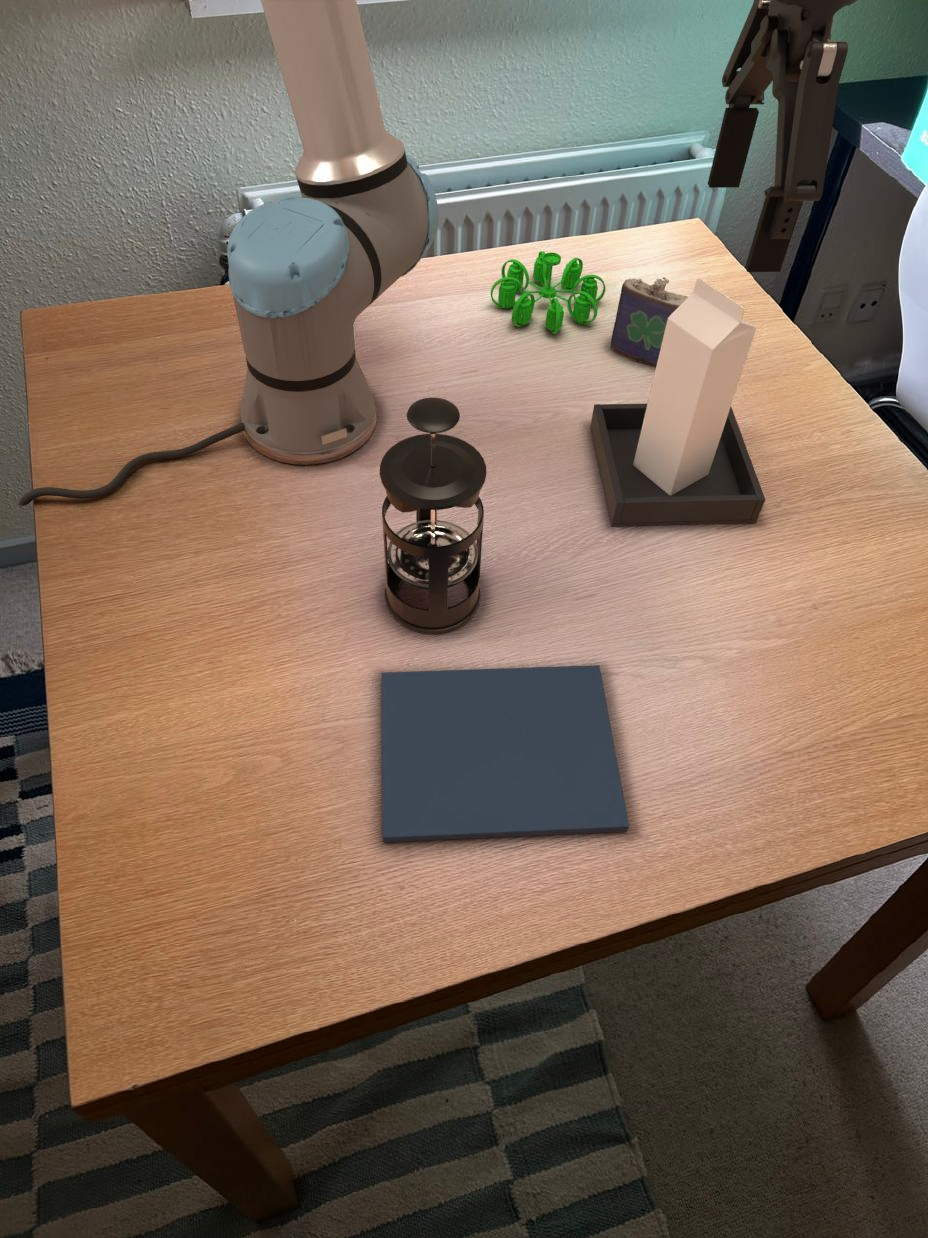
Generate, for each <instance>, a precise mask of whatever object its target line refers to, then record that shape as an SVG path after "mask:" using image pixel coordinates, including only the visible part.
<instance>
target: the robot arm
mask: <svg viewBox="0 0 928 1238" xmlns="http://www.w3.org/2000/svg"><path fill="white" fill-rule="evenodd" d="M857 1H858V0H753V2H752V5H751V8H750V10H749V12H748V15H747V16H746V19H745V21H744V24H743V27H742V29H741V31H740V33H739V36H738V38H737V40H736V43H735V46H734V47H733V50H732V53H731V55H730V57H729V60H728V62H727V65H726V67H725V69H724V72H723V75H722V77H721V85H722V87H723V88H727V90H726V91H725V94H724V101H725V105H728V106H727V107H725V109H724V113H723V117H722V121H721V125H720V129H719V134H718V138H717V142H716V146H715V151H714V155H713V159H712V164H711V168H710V171H709V177H708V180H707V185H708V188H709V189H712V188H713V189H716V188H719V189H723V188H724V189H725V188H728V189H729V188H740V185H741V181H742V178H743V174H744V170H745V166H746V163H747V159H748V156H749V151H750V147H751V144H752V140H753V136H754V132H755V128H756V126H757V125H756V124H757V121H758V118H759V114H760V111H759V109H758V107H750V106H751V105H765V102H764V101H765V92H766V90H767V89H768V87H769V86H770V85H771V84H772V85H771V86H772V89H771V93H772V94H771V95H772V96H773V98H775V99H776V100H777V103H778V105H777V122H776V124H777V125H776V143H775V146H776V147H775V163H774V165H775V166H774V167H775V168H774V185H772V186H769V187H768V188H766V189H764V191H763V192H764V197H765V198H764V200H763V205H762V208H761V210H760V211H761V212H760V215H759V218H758V221H757V224H756V229H755V232H754V235H753V237H752V238H753V239H752V242H751V246H750V248H749V252H748V255H747V258H746V263H745V266H744V268H745V270H746V272H747V273H780V272H781V270H782V267H783V264H784V261H785V258H786V255H787V252H788V249H789V247H790V244H791V243H790V242H791V239H792V237H793V233H794V231H795V228H796V225H797V221H798V218H799V216H800V212H801V210H802V206H803V204H804V202H819V201H820V200H821V199H822V196H823V193H824V187H825V186H824V185H825V179H826V172H827V167H828V158H829V151H830V146H831V140H832V132H833V125H834V119H835V114H836V113H835V112H836V105H837V99H838V93H839V86H840V80H841V77H842V73H843V69H844V66H845V62H846V60H847V55H848V52H849V44H848V42H847V41H832V27H833V21H834V16H835V15H836V14H837V13H838V12H839V11H840V10H841V9H843V8H845V7H846V6H847V7H849V6H852V5H853V4H854V3H855V4H856V2H857ZM260 3H261V6H262V7H261V8H262V10H263V13H264V17H265V21H266V24H267V27H268V30H269V34H270V37H271V42H272V44H273V49H274V52H275V55H276V58H277V62H278V65H279V69H280V73H281V76H282V80H283V83H284V87H285V90H286V94H287V97H288V101H289V104H290V107H291V111H292V114H293V118H294V121H295V124H296V125H295V126H296V129H297V131H298V135H299V139H300V142H301V145H302V149H303V151H302V154H301V156H300V157H299V160H298V162H297V164H296V165H295V169H294V174H295V178H296V181H297V184H298V187H299V191H300V194H301V197H300V196H299V197H298V196H295V197H293V196H292V197H283V198H281V199H280V201H279V202H277V203H274V202H272V201H268V202H265V203H263V204H261V205H258V206H257V207H254V208H253V209H251V210H249V212H247V213H246V214H244V216H242V217H241V218H240V219H239V221H238V222H237V223H236V224H235V225H234V227H233V229H232V231H231V233H230V234H229V235H230V236H229V238H228V242H227V247H226V249H227V253H226V254H227V262H228V270H227V271H228V272H227V273H228V282H229V288H230V290H231V292H232V297H233V298H232V299H233V301H234V302H233V303H234V307H235V311H236V317H237V322H238V328H239V331H240V332H239V333H240V336H241V341H242V346H243V351H244V355H245V361H246V367H247V370H246V374H245V380H244V385H243V389H242V395H241V400H240V406H239V418H240V423H237V424H236V425H234V426H231V427H229V428H227V429H226V428H225V429H224V430H222V431H220V432H217V433H214V434H212V435H210V436H207V437H206V438H204V439H202V440H200V441H198V442H196V443H194V444H192V445H191V444H190V445H189V446H186V447H183V448H179V449H173V450H162V451H154V452H148V453H144V454H141V455H139V456H137V457H135V458H133V459H131V460H130V461H129V462H127V463H126V464H125V465H124V466H123V467H122V468H121V470H120V471H119V472H118V473H117V475H116V476H115V477H114V478H113V479H112V480H111V481H110V482H109V483H107V484H105V485H103V486H101V487H98V488H95V489H89V490H87V489H86V490H85V489H84V490H83V489H82V490H81V489H80V490H79V489H71V488H70V489H69V488H62V487H51V486H45V487H44V486H43V487H37V488H34V489H31V490H29V491H28V492H26V493H25V494H24V495H23V496H21V498H20V499H19V502H18V506H20V507H24V506H28V505H29V504H30V503H31V502H32V501H34V500H35V499H37V498H40V497H44V496H47V497H49V496H51V497H60V498H68V499H77V500H79V499H80V500H87V499H89V500H90V499H97V498H102V497H104V496H106V495H109V494H110V493H112V492H114V491H115V490H116V489H118V488H119V487H120V486H121V485H122V484H123V483H124V482H125V480H127V478H128V477H129V476H130V474H131V473H132V472H133V471H134V470H135V469H136V468H138V467H139V466H141V465H144V464H146V463H149V462H153V461H159V460H171V459H178V458H184V457H187V456H191V455H193V454H196V453H197V452H200V451H202V450H204V449H206V448H208V447H210V446H212V445H214V444H216V443H219V442H221V441H223V440H225V439H227V438H231V437H233V436H235V435H237V434H240V433H242V432H243V435H244V437H245V439H246V441H247V442H248V444H249V445H250V446H251V447H252V448H253V449H254V450H256V451H257V452H258V453H260V454H261V455H263V456H265V457H267V458H269V459H271V460H274V461H277V462H281V463H285V464H290V465H291V464H292V465H300V466H301V465H302V466H305V465H308V466H309V465H319V464H324V463H329V462H332V461H333V462H334V461H336V460H340V459H342V458H345V457H346V456H348V455H351V454H352V453H354V452H356V451H357V450H358V449H360V448H361V447H362V446H363V445H364V444H365V443H366V442H367V441H368V440H369V439H370V437H371V436H372V434H373V432H374V430H375V427H376V424H377V406H376V399H375V396H374V393H373V391H372V389H371V387H370V385H369V383H368V381H367V378H366V377H365V375H364V372H363V370H362V368H361V366H360V364H359V362H358V359H357V357H356V341H355V329H354V327H355V326H354V325H355V321H356V319H357V318H358V316H359V315H361V314H362V313H363V312H364V311H366V309H367V308H369V307H370V306H371V305H372V304H373V303H374V302H376V300H377V299H378V298H380V296H381V295H383V294H384V293H385V292H386V291H387V290H388V289H389V288H391V286H393V285H394V284H395V283H396V282H397V281H398V280H399V279H400V278H401V277H404V276H406V275H407V274H408V273H410V272H411V271H413V270H414V269H415V268H416V266H417V265H418V263H419V262H420V261H421V260H422V258H423V257H424V255H425V254H426V253H427V252H428V250H429V249H430V248H431V246H432V244H433V242H434V240H435V237H436V234H437V230H438V225H439V206H438V200H437V195H436V193H435V189H434V187H433V184H432V183H431V180H430V179H429V177H428V175H427V174H426V173H422V172H421V171H420V170H419V168H420V166H419V164H418V163H417V162H416V161H415V160H414V159H412V158H411V157H409V156H408V155H407V154H406V148H405V145H404V143H403V141H401V140H400V139H399V138H397V137H396V136H394V135H393V134H391V133H390V132H389V131H388V130H387V129H386V126H385V123H384V119H383V113H382V110H381V105H380V100H379V97H378V92H377V88H376V83H375V78H374V74H373V69H372V63H371V60H370V56H369V51H368V47H367V41H366V38H365V32H364V29H363V24H362V19H361V14H360V11H359V6H358V1H357V0H260Z"/></svg>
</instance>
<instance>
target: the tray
mask: <svg viewBox="0 0 928 1238" xmlns="http://www.w3.org/2000/svg"><path fill="white" fill-rule="evenodd" d="M647 404H648V403H601V404H600V403H594V404H593V409H592V415H591V418H590V419H591V420H590V425H589V429H590V435H591V440H592V444H593V448H594V454H595V457H596V462H597V467H598V471H599V476H600V481H601V486H602V488H603V490H602V491H603V495H604V499H605V505H606V508H607V513H608V517H609V522H610V527H644V526H645V527H647V526H648V527H649V526H651V527H652V526H684V525H691V526H692V525H725V524H729V525H731V524H756V523H757V522H758V520H759V516H760V514H761V512H762V510H763V507H764V505H765V502H766V498H765V495H764V492H763V489H762V485H761V483H760V480H759V478H758V476H757V473H756V470H755V467H754V465H753V462H752V459H751V455H750V454H749V451H748V449H747V446H746V442H745V439H744V437H743V434H742V432H741V429H740V427H739V424H738V421H737V418H736V416H735V412H734V410H733V407H732V406H731V407H730V410H729V413H728V416H727V419H726V423H725V426H724V429H723V432H722V435H721V438H720V441H719V444H718V447H717V450H716V453H715V456H714V459H713V462H712V465H711V468H710V471H709V474H708V475H707V476H705V477H703V478H701V479H700V480H698V481H696V482H694V483H693V484H691V485H689V486H687V487H686V488H684V489H682V490H680V491H679V492H677V493H675V494H673V495H672V496H670V495H668V494H667V493H666V492H665V491H664V490H662V489H661V488H660V487H659V486H657V485H656V484H655V483H654V482H653V481H651V480H650V479H649V478H648V477H647V476H645V475H644V474H643V473H642V472H640V471H639V470H638V469H637V468H636V467H634V466H633V463H634V459H635V455H636V450H637V446H638V442H639V438H640V434H641V429H642V425H643V421H644V417H645V413H646V408H647Z"/></svg>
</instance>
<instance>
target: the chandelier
mask: <svg viewBox="0 0 928 1238" xmlns="http://www.w3.org/2000/svg"><path fill="white" fill-rule="evenodd" d="M537 255H538V256H537V257H536V258H535V262H534V264H533V274H532V278H533V280H534V281H535V282H537V283H538V284H539V285H538V284H535V283H533V282H531V281H530V275H529V272H528V270H527V267H526V266H525V265H524V263H522V262H521V261H519V260H518V259H514V258H511V259H508V260H507V261H505V262H504V263H503V264H502V266H501V273H500V274H501V278H499V279H498V280H496V281H495V282H493V285H491V289H490V298H491V302H492V303H493V304H494V305H495V306H496V307H498V308H501V309H511V308H513V309H512V311H511V312H512V313H511V323H512V324H513V325H514V326H516V327H519V328H520V327H523V326H524V325H526V324H529V323H530V322H531V320H532V314H533V311H534V309H535V303H537V302H538V301H539V300H540V299H542V298H543V299H547V300H549V303H550V304H549V305H548V308H547V309H546V314H545V315H546V316H545V323H544V324H545V328H547V330H549V331H550V332H551V334H553V335H556V334H558V333H559V331H560V330H561V328H562V327H563V323H564V322H563V321H564V314H565V312H564V307H563V305H562V304H561V302H559V299H561V300H563V301H565V302H567V310H568V314H569V315H570V316H571V318H572V319H573V320H574V321H575V322H577V323H579V324H581V325H589V324H591V323H592V322H593V321H595V319H596V318H597V316H598V307H597V306H598V305H597V303H599V302H600V301H601V300H602V299H603V297H604V295H605V293H606V284H605V281H604V280H603V278H602V277H601V276H599V275H596V274H586V275H583V276H582V273H583V268H584V263H583V260H582V258H579V257H573V258H571V259H570V260H569V262H567V263H566V265H565V267H564V269H563V272H562V275H561V279H560V281H559V282H558V283H556V284H555V285H554V286H552V285H551V283H552V277H553V276H552V274H553V267H556V266H558V265H560V264H561V262H562V256H561V254H558V253H556V252H545V251H544V250H540V251H539V252H538V254H537ZM509 263H511V264H509ZM507 264H509V266H508V270H507V273H506V266H507ZM524 276H525V284H524ZM596 279H597V280H596ZM598 281H599V282H601V284H602V291H601V293H600V295H599V296H598V289H599V288H598ZM581 282H582V283H581ZM580 283H581V285H580V290H576V289H577V287H578V286H579V284H580ZM499 284H500V286H499V287H498V297H497V301H496V300H495V299H494V297H493V293H494V290H495V289H496V287H497V286H498V285H499ZM523 285H524V287H523ZM529 285H531V286H533V287H535V288H538V289H539V290H527V291H526V289H527V288H528V286H529ZM558 286H561V289H559V290H558V289H557V290H556V288H557V287H558ZM517 293H520V295H519V297H518V298H516V295H517ZM558 293H572V294H570V295H569V297H568V299H567V298H566V297H563V296H561V295H559V294H558ZM534 294H539V296H538V297H537V298H536V299H535V296H534ZM576 295H578V296H576ZM597 296H598V297H597ZM529 297H530V298H529ZM572 299H574V303H573V307H572ZM572 308H573V309H572ZM592 308H593V316H592V319H591V320H589V319H590V316H591V309H592Z"/></svg>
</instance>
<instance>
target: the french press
mask: <svg viewBox="0 0 928 1238" xmlns="http://www.w3.org/2000/svg"><path fill="white" fill-rule="evenodd" d="M460 418H461V412H460V410H459V408H458V407H457V406H456V404H454V403H453V402H451V401H450V400H448V399H445V398H442V397H436V396H435V397H431V396H430V397H423V398H420V399H418V400H416V401H414V402H413V403H412V404H411V405H410V406H409V407H408V409H407V411H406V419H407V422H408V423H409V424H410V425H411V427H412V428H414V429H416V430H418V431H419V432H422V433H423V434H415V435H413V436H408V437H406V438H404V439H402V440H399V441H398V442H397V443H395V444H394V445H392V446H391V447H390V448H389V449H388V450H387V451H386V452H385V453H384V455H383V456H382V458H381V461H380V464H379V479H380V482H381V484H382V486H383V488H384V490H385V493H386V496H385V498H384V500H383V503H382V506H381V521H382V537H383V553H384V571H385V572H384V573H385V588H384V602H385V606H386V607H385V608H386V609H387V611H388V613H389V614H390V616H391V617H392V618H393V619H394V620H395V622H397V623H398V624H399V625H400V626H402V627H404V628H405V629H408V630H410V631H413V632H416V633H420V634H426V635H440V634H446V633H449V632H453V631H455V630H458V629H459V628H461V627H463V626H465V625H466V624H467V623H469V621H470V620H472V618H473V617H474V616H475V614H476V613H477V611H478V609H479V607H480V604H481V597H482V596H481V588H480V577H481V563H482V562H481V561H482V548H483V533H484V519H485V510H484V504H483V502H482V499H481V497H480V494H481V493H480V492H481V490H482V489H483V487H484V486H485V483H486V479H487V475H488V474H487V473H488V472H487V464H486V462H485V459H484V457H483V455H482V454H481V452H480V451H479V450H477V448H476V447H475V446H473V445H472V444H470V443H469V442H467V441H465V440H463V439H461V438H458V437H456V436H452V435H450V434H449V435H448V434H442V433H444V432H448V431H450V430H451V429H453V428H455V427H456V425H457V424H458V423H459V421H460ZM391 505H392V506H393V507H394V508H395V510H397V511H398V512H401V513H412V512H415V515H416V516H415V517H416V518H415V519H416V520H415V521H416V522H412V523H410V524H408V525H406V526H403V527H402V528H401V529H399V530H398V531H397V532H396V533H395V532H394V530H392V528H391V526H389V524H388V522H387V520H386V515H387V512H388V509H389V508H390V506H391ZM474 505H475V508H476V509H477V511H478V513H477V514H478V515H477V526H476V527H475V529H474V530H473V531H472V532H471V533H469V531H467V530H466V529H464V528H463V527H461V526H460V525H458V524H455V523H453V522H450V521H446V520H439V519H438V511H441V510H449V509H453V508H463V509H467V508H472V507H474ZM388 540H389V543H388ZM402 582H404V583H405V584H407V585H409V586H411V587H414V588H417V589H420V590H424V591H428V608H422V607H417V606H414V605H411V604H409V603H407V602H405V601H404V600H403V599H401V598H400V597H399V588H400V587H401V584H402ZM462 582H463V584H464V586H465V588H466V591H467V597H466V598H464V599H463V600H462V601H460V602H458V603H456V604H454V605H452V606H449V605H448V603H449V588H452V587H455V586H457V585H459V584H460V583H462ZM448 606H449V607H448Z"/></svg>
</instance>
